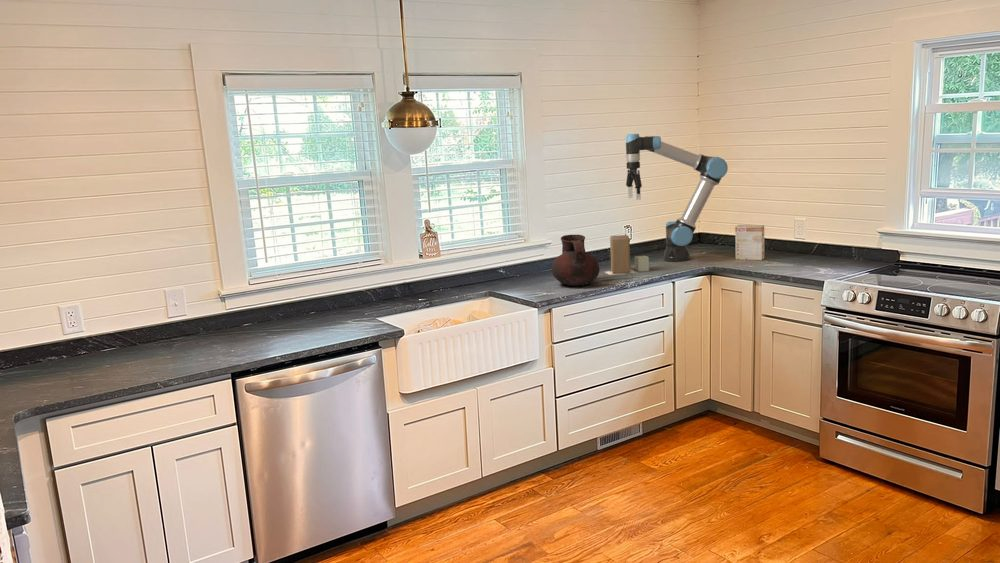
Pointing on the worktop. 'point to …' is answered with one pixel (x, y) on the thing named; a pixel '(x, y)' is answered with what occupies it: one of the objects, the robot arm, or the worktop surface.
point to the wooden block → (620, 254)
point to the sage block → (641, 263)
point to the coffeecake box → (749, 242)
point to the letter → (621, 273)
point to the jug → (574, 263)
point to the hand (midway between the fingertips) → (634, 199)
